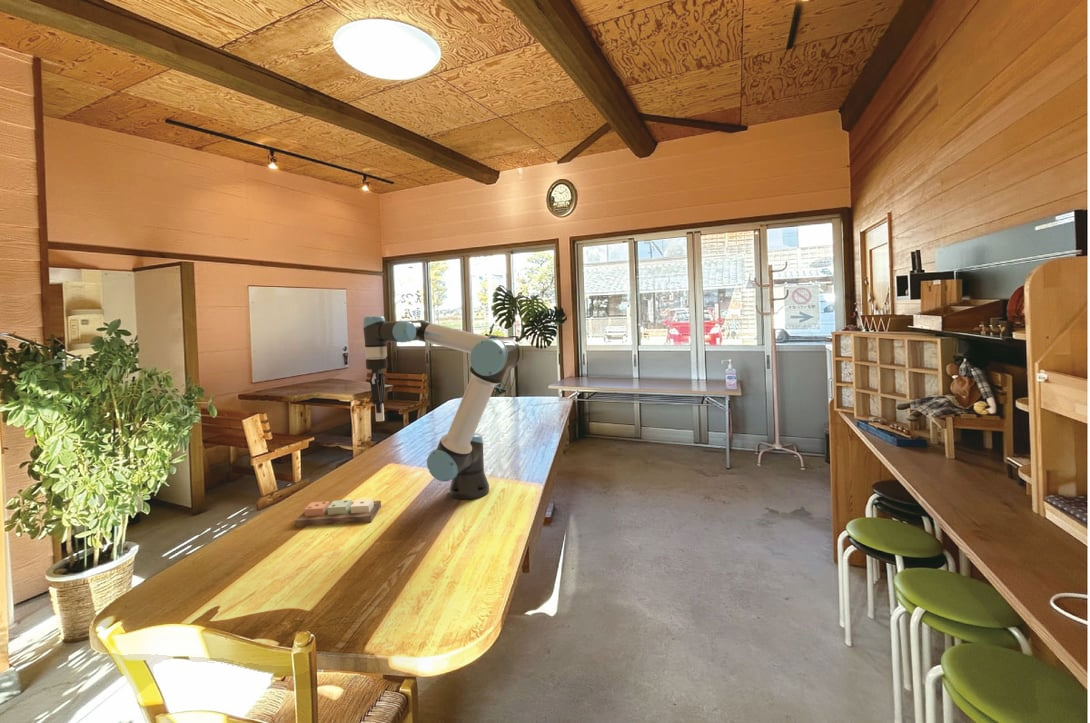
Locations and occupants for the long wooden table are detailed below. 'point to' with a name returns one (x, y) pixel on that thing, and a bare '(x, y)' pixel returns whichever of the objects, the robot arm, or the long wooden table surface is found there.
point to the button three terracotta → (316, 508)
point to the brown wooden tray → (338, 518)
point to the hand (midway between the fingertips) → (380, 420)
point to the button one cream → (362, 506)
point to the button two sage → (339, 507)
